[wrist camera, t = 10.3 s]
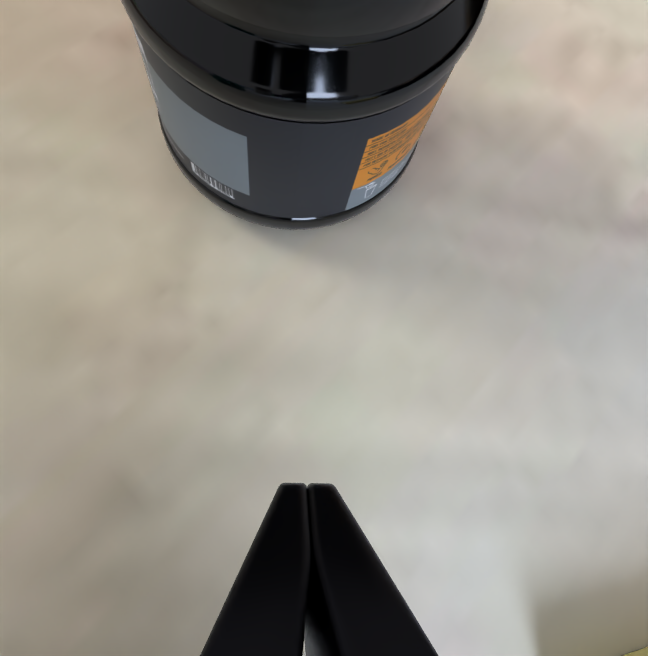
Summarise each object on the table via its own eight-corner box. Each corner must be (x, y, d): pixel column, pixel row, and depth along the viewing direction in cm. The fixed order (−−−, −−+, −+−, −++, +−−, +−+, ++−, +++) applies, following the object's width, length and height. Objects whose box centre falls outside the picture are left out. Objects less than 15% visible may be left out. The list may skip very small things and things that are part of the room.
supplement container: (458, 123, 24) (647, -199, 12) (304, 292, 21) (355, 88, 9) (279, -19, 24) (293, -451, 13) (108, 126, 22) (-68, -252, 10)
